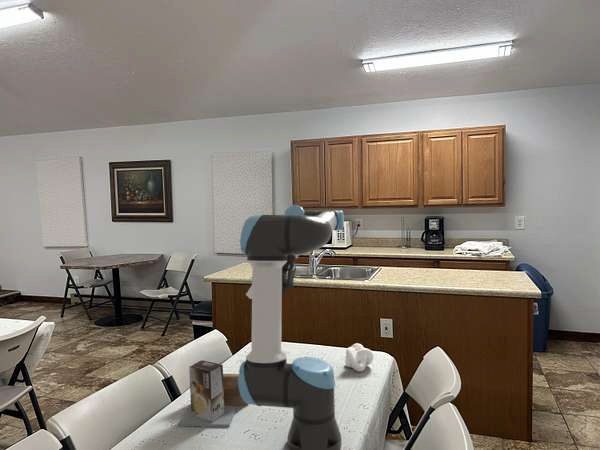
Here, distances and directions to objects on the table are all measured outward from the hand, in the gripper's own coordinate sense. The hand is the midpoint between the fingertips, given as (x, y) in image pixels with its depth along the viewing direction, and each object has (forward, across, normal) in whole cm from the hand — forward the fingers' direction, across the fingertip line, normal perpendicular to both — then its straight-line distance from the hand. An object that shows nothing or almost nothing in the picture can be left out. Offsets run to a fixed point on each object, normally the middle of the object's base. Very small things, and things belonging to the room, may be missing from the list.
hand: (260, 299), depth 152 cm
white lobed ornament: (-2, -17, -49) cm, 52 cm away
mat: (+42, -3, -4) cm, 42 cm away
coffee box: (+41, -3, -4) cm, 42 cm away
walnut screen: (+36, +1, -10) cm, 37 cm away
